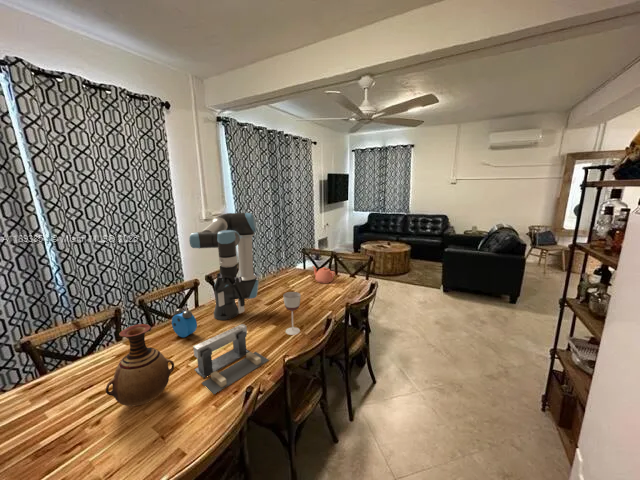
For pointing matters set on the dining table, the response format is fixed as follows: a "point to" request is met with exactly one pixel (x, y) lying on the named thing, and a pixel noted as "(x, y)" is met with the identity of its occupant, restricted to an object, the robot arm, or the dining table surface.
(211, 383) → the mat
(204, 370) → the stand
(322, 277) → the teapot
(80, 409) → the dining table surface
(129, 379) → the vase
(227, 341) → the rail
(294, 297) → the wineglass
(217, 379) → the rests
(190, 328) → the alarm clock
